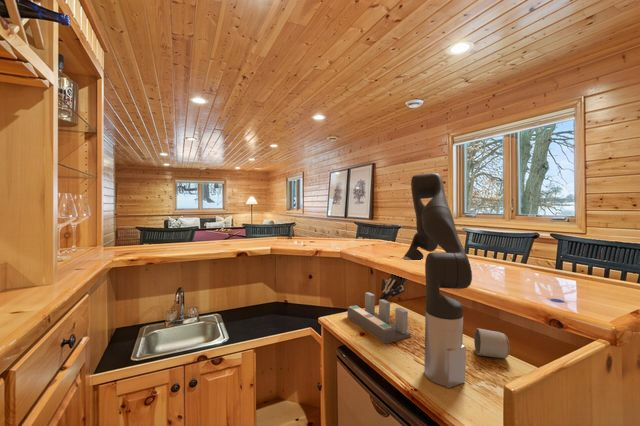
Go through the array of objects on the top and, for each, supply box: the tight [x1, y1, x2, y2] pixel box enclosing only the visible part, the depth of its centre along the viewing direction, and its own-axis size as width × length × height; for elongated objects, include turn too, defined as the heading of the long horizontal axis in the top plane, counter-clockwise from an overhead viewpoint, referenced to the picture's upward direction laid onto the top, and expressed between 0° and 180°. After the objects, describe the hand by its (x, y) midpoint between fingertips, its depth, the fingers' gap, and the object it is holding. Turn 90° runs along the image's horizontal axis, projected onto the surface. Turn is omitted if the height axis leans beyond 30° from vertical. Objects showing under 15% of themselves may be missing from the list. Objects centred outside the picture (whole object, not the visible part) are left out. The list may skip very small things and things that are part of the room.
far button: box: [364, 291, 376, 314], centre depth 119 cm, size 4×2×8 cm, turn 25°
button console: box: [347, 304, 412, 344], centre depth 109 cm, size 24×11×5 cm, turn 25°
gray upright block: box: [378, 299, 391, 323], centre depth 111 cm, size 4×2×8 cm, turn 25°
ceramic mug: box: [473, 327, 511, 359], centre depth 91 cm, size 11×8×8 cm
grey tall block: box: [394, 307, 409, 334], centre depth 102 cm, size 4×2×8 cm, turn 25°
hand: (380, 301), depth 122 cm, fingers closed
